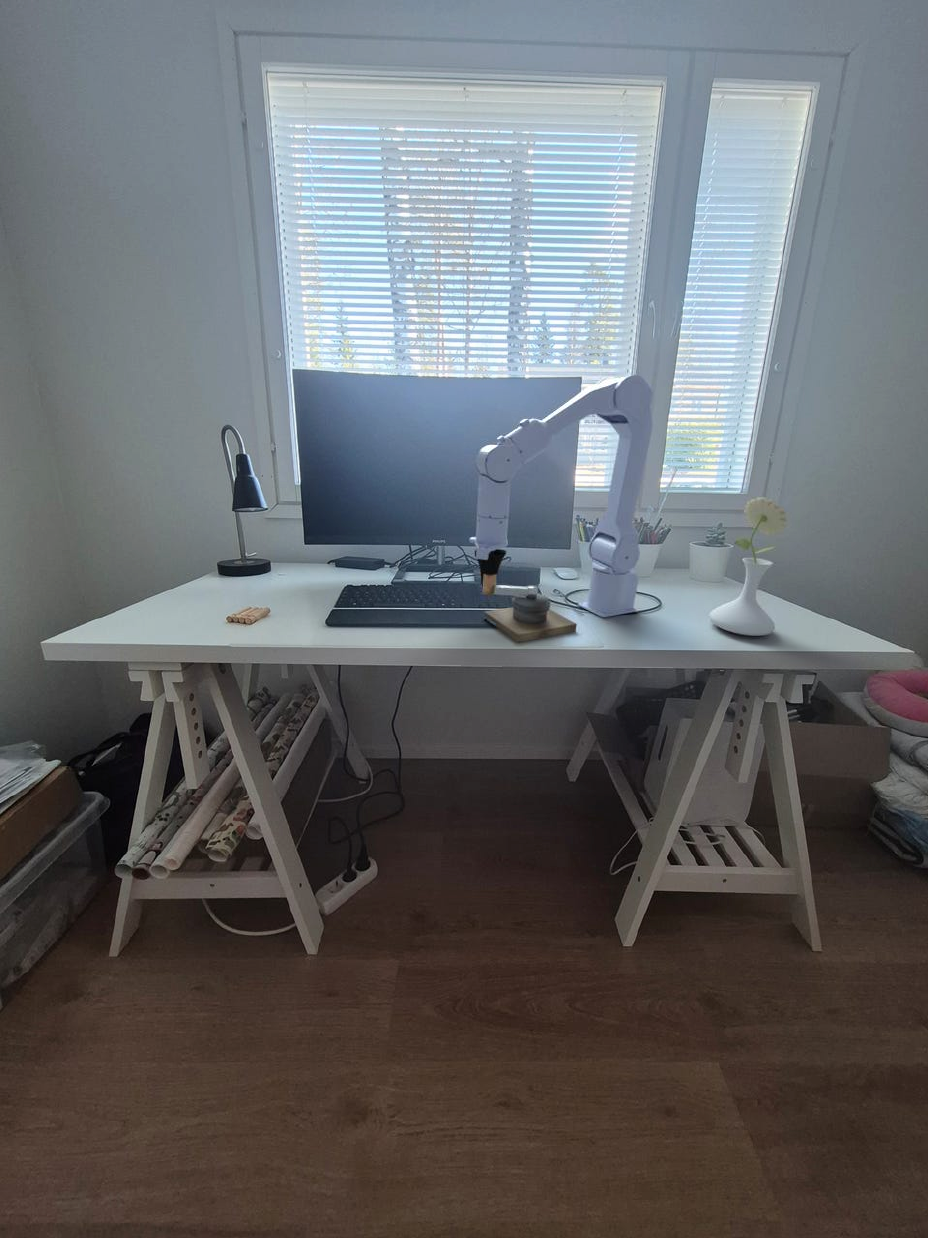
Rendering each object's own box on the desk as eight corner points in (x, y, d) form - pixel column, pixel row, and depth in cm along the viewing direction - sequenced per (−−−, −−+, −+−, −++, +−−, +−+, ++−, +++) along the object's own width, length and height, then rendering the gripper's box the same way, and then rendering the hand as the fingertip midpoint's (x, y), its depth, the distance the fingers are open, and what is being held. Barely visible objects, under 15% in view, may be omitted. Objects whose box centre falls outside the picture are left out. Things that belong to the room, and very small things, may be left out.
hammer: (536, 595, 89) (538, 575, 87) (537, 599, 87) (539, 579, 85) (482, 592, 89) (483, 572, 88) (482, 596, 87) (483, 575, 86)
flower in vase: (786, 642, 87) (831, 505, 78) (727, 641, 86) (765, 503, 77) (743, 616, 99) (778, 494, 90) (691, 615, 99) (720, 492, 89)
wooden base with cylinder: (538, 610, 98) (540, 584, 96) (575, 631, 88) (579, 603, 86) (483, 618, 92) (485, 592, 90) (517, 642, 82) (520, 613, 80)
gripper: (480, 508, 92) (477, 574, 97) (460, 520, 79) (457, 596, 84) (516, 511, 90) (510, 578, 96) (501, 524, 77) (496, 601, 83)
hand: (488, 587), depth 90 cm, fingers closed, pressing on hammer
